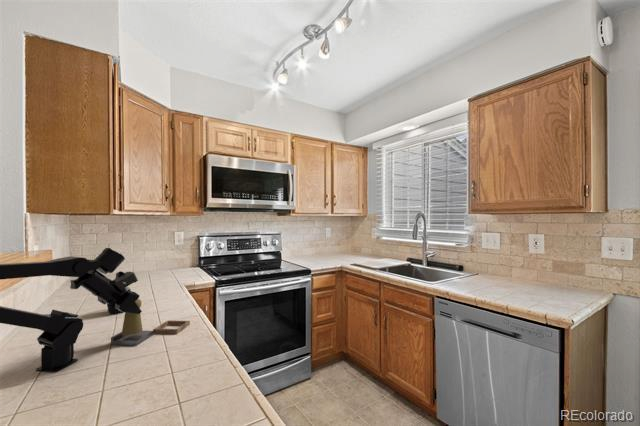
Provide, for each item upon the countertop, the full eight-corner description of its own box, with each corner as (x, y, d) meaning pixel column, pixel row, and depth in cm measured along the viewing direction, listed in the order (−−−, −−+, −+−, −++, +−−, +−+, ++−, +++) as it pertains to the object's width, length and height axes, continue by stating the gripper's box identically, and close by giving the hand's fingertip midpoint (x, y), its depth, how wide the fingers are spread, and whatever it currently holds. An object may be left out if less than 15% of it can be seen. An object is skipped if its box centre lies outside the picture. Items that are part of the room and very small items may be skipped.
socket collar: (176, 334, 104) (176, 329, 104) (153, 333, 104) (153, 329, 104) (189, 324, 113) (189, 320, 113) (167, 324, 113) (167, 320, 113)
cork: (132, 335, 95) (132, 302, 96) (117, 334, 96) (117, 301, 97) (146, 328, 101) (147, 297, 101) (132, 327, 102) (132, 296, 103)
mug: (132, 311, 129) (132, 289, 129) (108, 316, 122) (108, 292, 123) (125, 306, 137) (125, 284, 137) (102, 310, 131) (102, 288, 131)
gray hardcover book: (136, 345, 94) (136, 337, 94) (110, 344, 95) (110, 337, 95) (153, 334, 103) (153, 327, 103) (129, 334, 103) (129, 327, 104)
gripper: (133, 267, 91) (167, 295, 100) (109, 262, 102) (142, 288, 110) (102, 298, 84) (142, 325, 93) (80, 289, 95) (118, 314, 104)
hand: (136, 311), depth 100 cm, fingers closed on cork, 5 cm apart
